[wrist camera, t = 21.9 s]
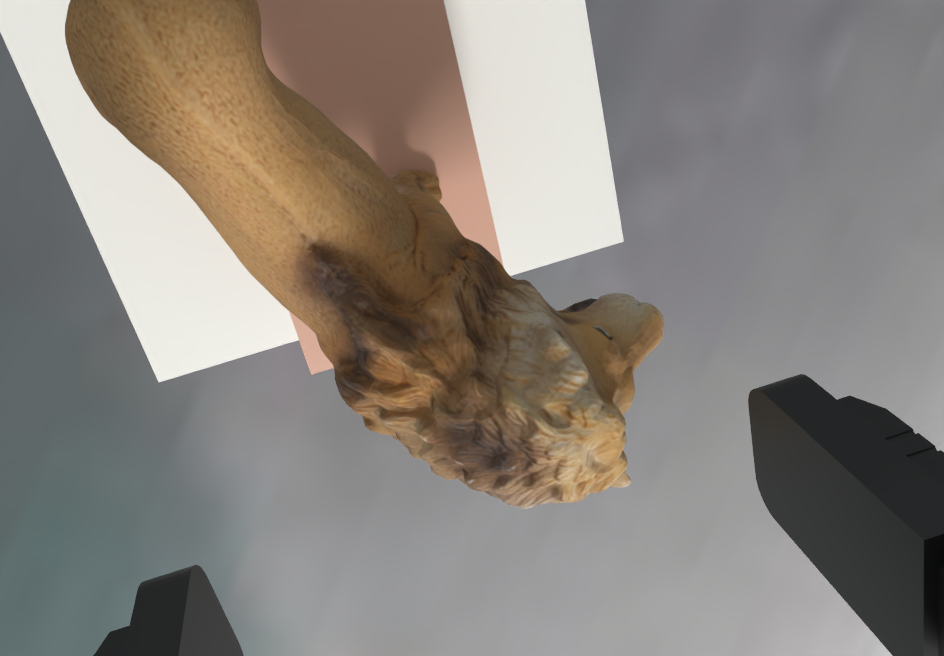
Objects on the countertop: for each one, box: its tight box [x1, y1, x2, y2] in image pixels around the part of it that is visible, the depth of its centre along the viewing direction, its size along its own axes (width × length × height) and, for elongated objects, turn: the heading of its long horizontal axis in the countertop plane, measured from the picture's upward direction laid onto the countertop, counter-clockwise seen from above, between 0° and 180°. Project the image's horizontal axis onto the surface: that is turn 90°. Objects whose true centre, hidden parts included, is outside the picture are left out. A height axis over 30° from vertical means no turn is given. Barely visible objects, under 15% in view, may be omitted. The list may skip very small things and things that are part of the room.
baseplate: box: [0, 0, 624, 382], centre depth 26 cm, size 16×12×1 cm
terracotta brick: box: [257, 0, 504, 375], centre depth 23 cm, size 6×9×6 cm, turn 13°
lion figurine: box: [65, 0, 664, 509], centre depth 16 cm, size 15×5×9 cm, turn 47°
